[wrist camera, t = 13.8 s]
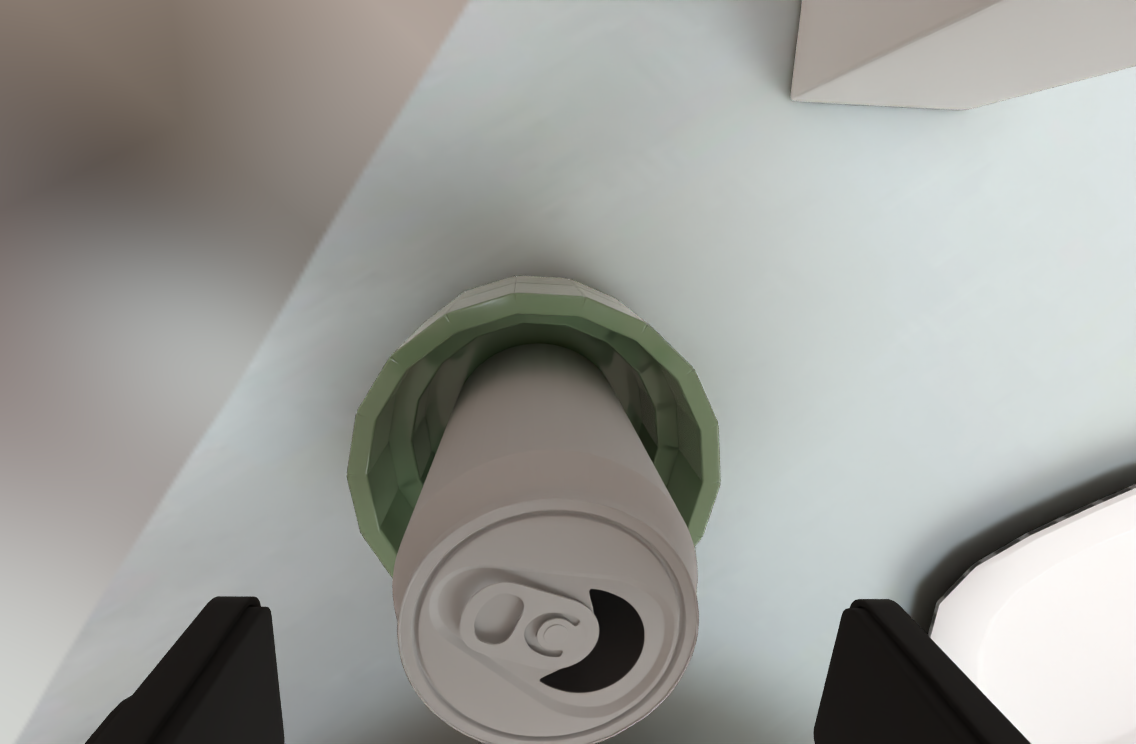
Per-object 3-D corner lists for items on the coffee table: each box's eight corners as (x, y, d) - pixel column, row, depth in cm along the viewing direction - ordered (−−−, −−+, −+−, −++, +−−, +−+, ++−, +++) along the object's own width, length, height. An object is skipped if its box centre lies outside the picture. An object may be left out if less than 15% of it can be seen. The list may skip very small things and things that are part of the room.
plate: (965, 816, 30) (991, 849, 29) (880, 573, 26) (904, 597, 24) (1270, 685, 30) (1314, 712, 28) (1242, 409, 25) (1293, 422, 23)
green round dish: (390, 266, 20) (336, 282, 14) (686, 283, 21) (748, 304, 15) (395, 532, 23) (353, 635, 17) (656, 535, 24) (698, 633, 18)
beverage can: (573, 511, 23) (626, 806, 11) (430, 454, 22) (323, 720, 10) (643, 379, 21) (784, 558, 10) (494, 310, 20) (458, 425, 9)
